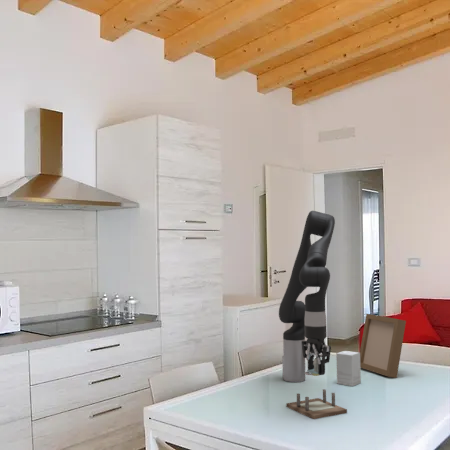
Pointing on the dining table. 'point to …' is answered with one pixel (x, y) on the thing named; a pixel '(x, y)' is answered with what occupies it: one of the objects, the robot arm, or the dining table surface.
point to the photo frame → (382, 344)
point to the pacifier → (313, 371)
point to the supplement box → (348, 368)
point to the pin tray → (316, 407)
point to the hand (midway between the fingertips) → (316, 372)
